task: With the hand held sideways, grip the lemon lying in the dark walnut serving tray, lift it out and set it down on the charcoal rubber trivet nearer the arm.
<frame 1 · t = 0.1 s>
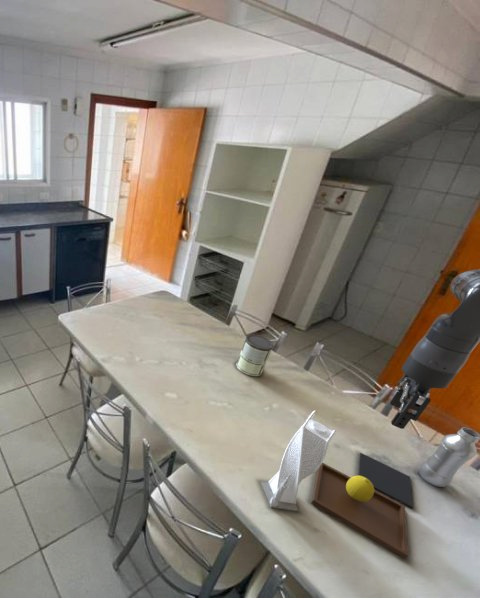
hand: (395, 415, 77), 31 cm above the table, tool pointing down, fingers open, 8 cm apart
silver metal flask: (429, 479, 98), on the table
coffee can: (248, 368, 140), on the table
lemon: (352, 498, 91), resting on tray
skyscraper: (279, 494, 90), on the table
trivet: (383, 479, 97), on the table
tray: (356, 506, 89), on the table
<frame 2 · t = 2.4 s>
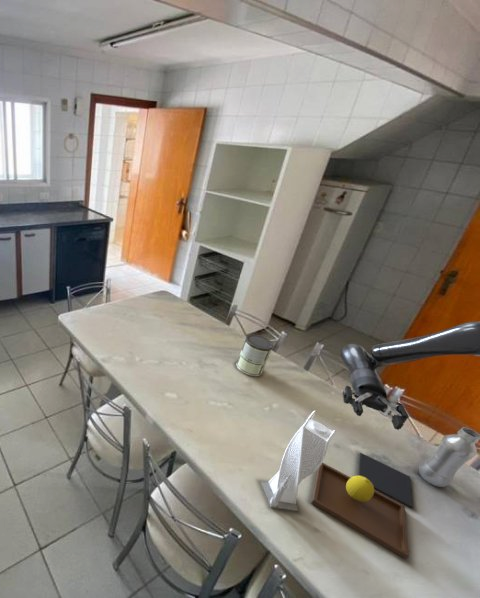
hand: (379, 420, 90), 20 cm above the table, tool horizontal, fingers open, 8 cm apart
nothing on the table moved.
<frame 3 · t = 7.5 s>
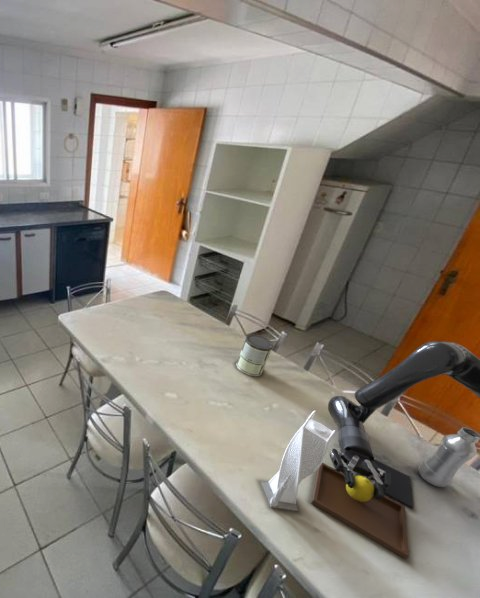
hand: (365, 491, 86), 7 cm above the table, tool horizontal, fingers closed on lemon, 5 cm apart
lemon: (352, 498, 91), resting on tray, touching gripper
everything else where it was.
when the fingers open (7 cm above the table, at t = 15.4 s): lemon stays where it is, resting on trivet.
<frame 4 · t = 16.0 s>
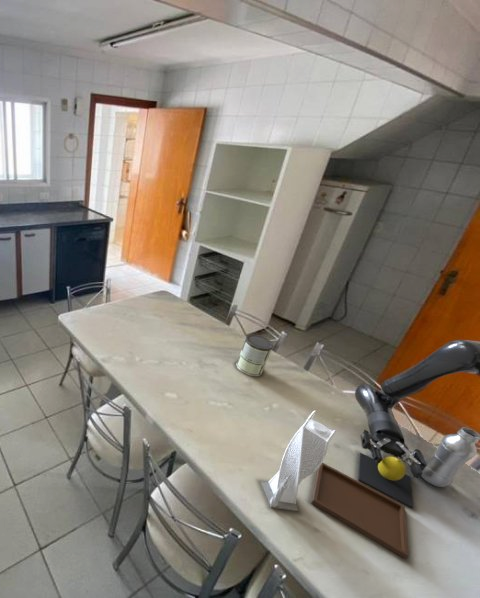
hand: (398, 468, 92), 7 cm above the table, tool horizontal, fingers open, 8 cm apart
lemon: (384, 477, 97), resting on trivet
everything else where it was.
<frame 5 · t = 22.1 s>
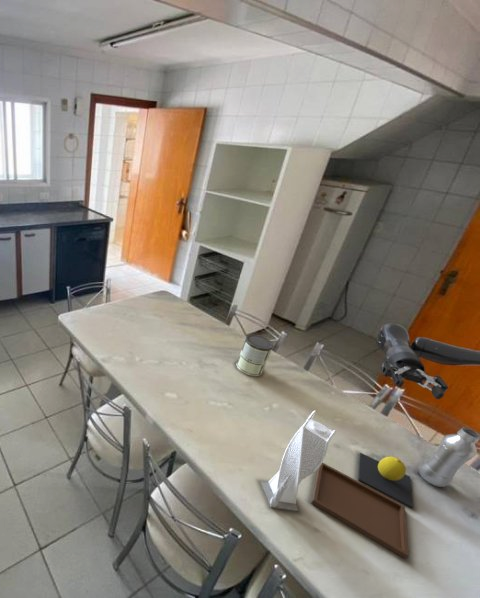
hand: (419, 390, 94), 26 cm above the table, tool horizontal, fingers open, 8 cm apart
nothing on the table moved.
at the end: lemon inside the target area (0.1 cm from its centre), resting on trivet; lemon touching trivet; the gripper is holding nothing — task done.
